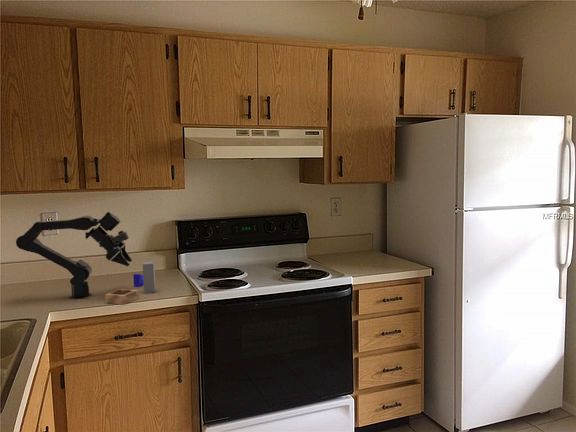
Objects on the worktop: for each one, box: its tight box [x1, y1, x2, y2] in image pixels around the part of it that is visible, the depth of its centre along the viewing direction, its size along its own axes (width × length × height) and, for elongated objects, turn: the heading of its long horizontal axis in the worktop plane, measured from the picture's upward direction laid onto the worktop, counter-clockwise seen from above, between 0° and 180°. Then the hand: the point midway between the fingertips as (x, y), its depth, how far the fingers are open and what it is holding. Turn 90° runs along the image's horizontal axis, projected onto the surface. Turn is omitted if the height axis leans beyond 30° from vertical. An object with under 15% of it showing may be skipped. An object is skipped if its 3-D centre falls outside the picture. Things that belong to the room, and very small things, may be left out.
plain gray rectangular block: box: [142, 261, 157, 294], centre depth 212 cm, size 4×4×13 cm
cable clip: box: [132, 273, 144, 288], centre depth 227 cm, size 12×4×6 cm, turn 169°
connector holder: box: [104, 288, 140, 305], centre depth 199 cm, size 10×10×4 cm
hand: (130, 263), depth 210 cm, fingers open, 9 cm apart
